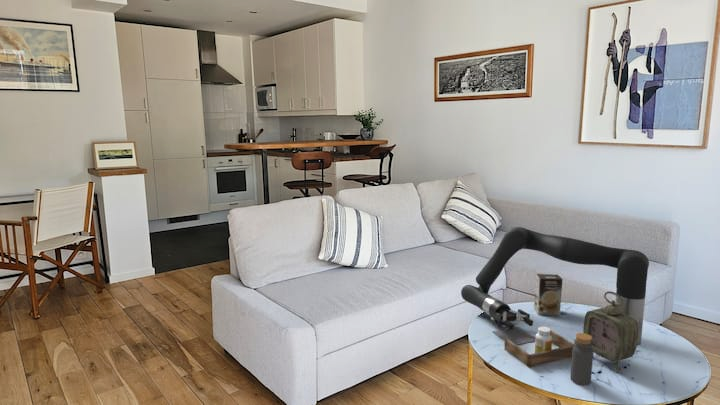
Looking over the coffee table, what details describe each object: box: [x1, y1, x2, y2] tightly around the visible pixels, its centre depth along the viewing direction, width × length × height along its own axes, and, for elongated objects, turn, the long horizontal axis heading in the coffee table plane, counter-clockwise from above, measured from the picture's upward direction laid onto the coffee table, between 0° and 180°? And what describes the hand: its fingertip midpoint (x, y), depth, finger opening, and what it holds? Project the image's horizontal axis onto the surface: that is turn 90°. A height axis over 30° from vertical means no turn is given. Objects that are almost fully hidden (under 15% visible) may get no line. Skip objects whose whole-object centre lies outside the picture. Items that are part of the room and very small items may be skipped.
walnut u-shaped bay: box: [504, 329, 575, 368], centre depth 163 cm, size 13×20×4 cm, turn 109°
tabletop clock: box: [582, 290, 638, 373], centre depth 154 cm, size 14×9×25 cm, turn 23°
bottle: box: [570, 332, 594, 386], centre depth 145 cm, size 6×6×15 cm
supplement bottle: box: [534, 326, 553, 353], centre depth 161 cm, size 5×5×10 cm
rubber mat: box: [491, 326, 536, 346], centre depth 176 cm, size 12×12×1 cm
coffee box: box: [533, 273, 563, 316], centre depth 195 cm, size 9×6×16 cm
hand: (522, 325), depth 171 cm, fingers open, 8 cm apart
